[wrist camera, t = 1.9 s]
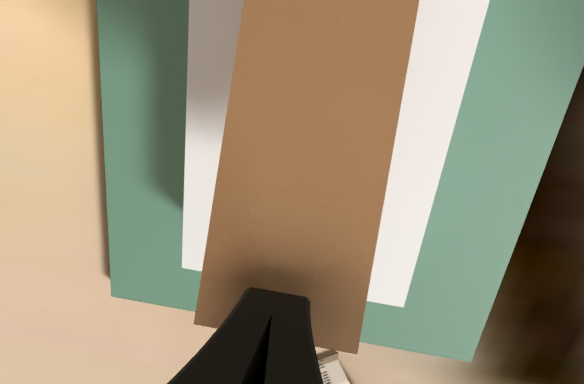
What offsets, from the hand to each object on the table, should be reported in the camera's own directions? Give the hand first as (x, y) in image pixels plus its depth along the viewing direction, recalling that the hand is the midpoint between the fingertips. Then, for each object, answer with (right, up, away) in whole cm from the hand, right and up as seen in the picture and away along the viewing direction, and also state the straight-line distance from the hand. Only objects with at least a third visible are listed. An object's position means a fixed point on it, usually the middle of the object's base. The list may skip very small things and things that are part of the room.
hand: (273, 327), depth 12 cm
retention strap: (+1, +5, +1) cm, 6 cm away
